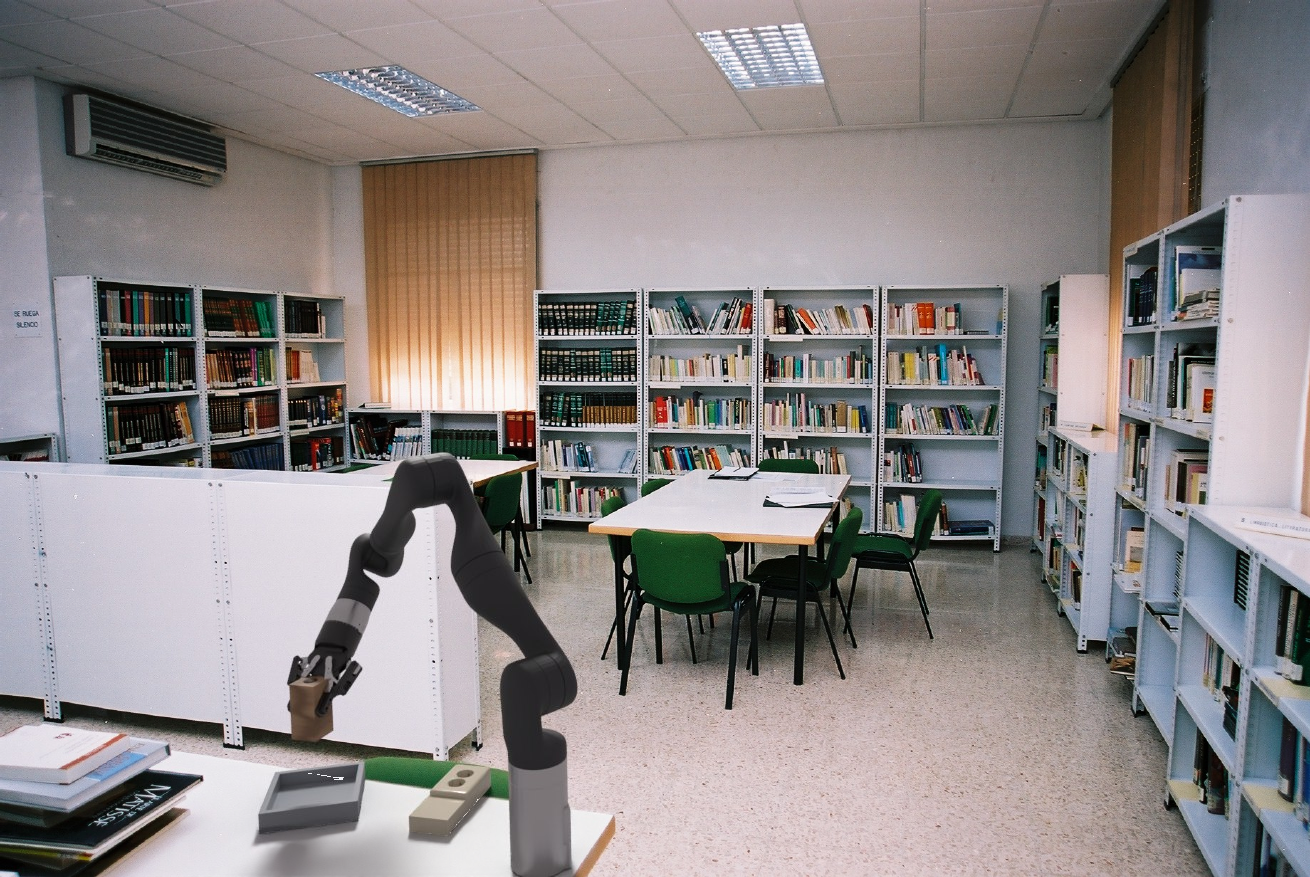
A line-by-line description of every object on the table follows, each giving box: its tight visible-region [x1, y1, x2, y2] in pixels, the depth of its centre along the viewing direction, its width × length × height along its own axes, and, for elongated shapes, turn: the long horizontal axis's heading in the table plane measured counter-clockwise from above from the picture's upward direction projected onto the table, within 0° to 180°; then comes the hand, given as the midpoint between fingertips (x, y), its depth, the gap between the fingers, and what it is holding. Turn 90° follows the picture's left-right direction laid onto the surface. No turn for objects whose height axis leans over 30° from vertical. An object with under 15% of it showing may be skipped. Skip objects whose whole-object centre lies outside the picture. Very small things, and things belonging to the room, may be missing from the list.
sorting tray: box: [257, 761, 366, 835], centre depth 153 cm, size 16×16×4 cm
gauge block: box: [288, 674, 335, 743], centre depth 152 cm, size 5×5×10 cm
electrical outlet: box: [408, 764, 492, 836], centre depth 151 cm, size 7×4×18 cm
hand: (305, 713), depth 150 cm, fingers closed on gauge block, 5 cm apart
